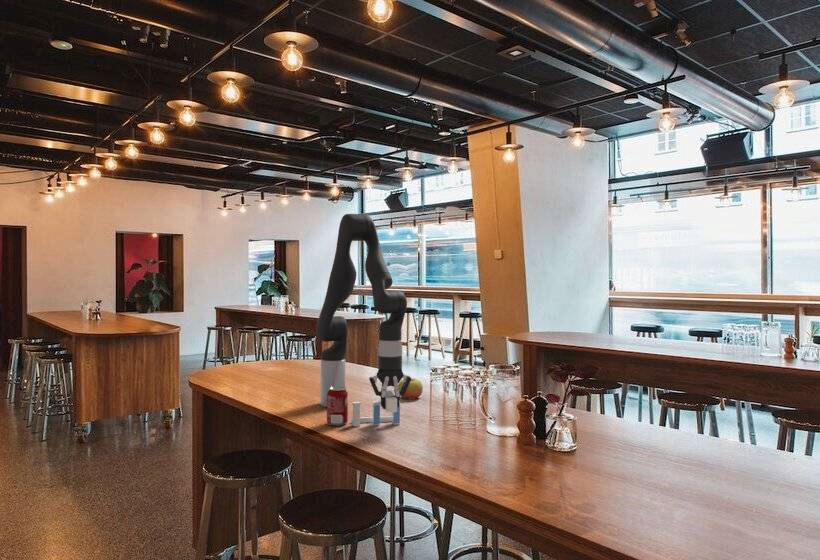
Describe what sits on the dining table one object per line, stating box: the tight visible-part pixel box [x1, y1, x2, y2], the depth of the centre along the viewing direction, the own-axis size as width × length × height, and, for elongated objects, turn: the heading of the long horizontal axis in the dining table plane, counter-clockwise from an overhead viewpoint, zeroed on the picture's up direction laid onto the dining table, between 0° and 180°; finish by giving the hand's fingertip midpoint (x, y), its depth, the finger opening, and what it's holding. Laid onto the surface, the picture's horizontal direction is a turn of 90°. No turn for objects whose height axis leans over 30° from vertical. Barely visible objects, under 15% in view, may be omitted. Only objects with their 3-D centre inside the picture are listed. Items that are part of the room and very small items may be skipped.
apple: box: [398, 378, 424, 400], centre depth 225 cm, size 10×10×8 cm
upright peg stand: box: [351, 399, 401, 427], centre depth 187 cm, size 5×16×8 cm, turn 101°
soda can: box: [326, 386, 349, 427], centre depth 186 cm, size 7×7×12 cm
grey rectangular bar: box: [384, 390, 397, 413], centre depth 181 cm, size 13×3×4 cm, turn 11°
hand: (389, 408), depth 179 cm, fingers closed on grey rectangular bar, 3 cm apart
